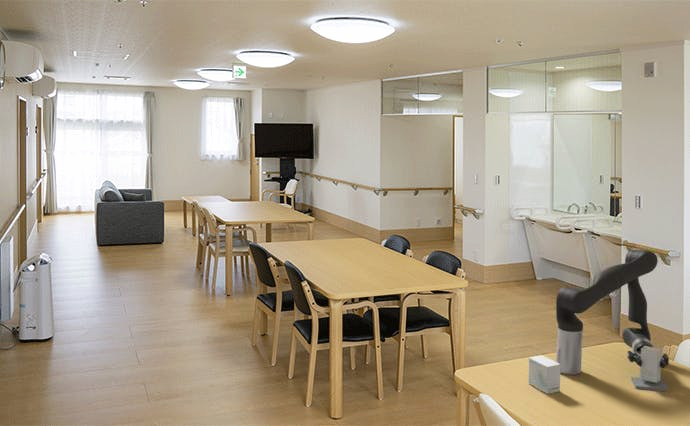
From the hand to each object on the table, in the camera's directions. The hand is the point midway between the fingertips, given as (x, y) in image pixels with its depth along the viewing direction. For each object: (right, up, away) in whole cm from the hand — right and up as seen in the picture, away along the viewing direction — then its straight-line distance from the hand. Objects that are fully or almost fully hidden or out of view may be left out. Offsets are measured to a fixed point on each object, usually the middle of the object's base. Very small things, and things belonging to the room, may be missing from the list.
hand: (651, 364), depth 236 cm
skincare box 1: (-39, -9, +1) cm, 40 cm away
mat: (+1, -8, +3) cm, 9 cm away
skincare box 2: (+1, -6, +3) cm, 7 cm away
